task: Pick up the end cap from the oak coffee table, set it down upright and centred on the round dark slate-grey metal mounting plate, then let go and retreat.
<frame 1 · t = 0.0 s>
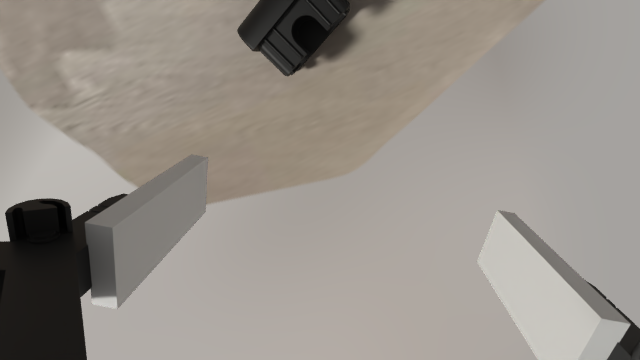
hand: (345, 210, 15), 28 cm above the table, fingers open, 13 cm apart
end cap: (299, 21, 39), on the table
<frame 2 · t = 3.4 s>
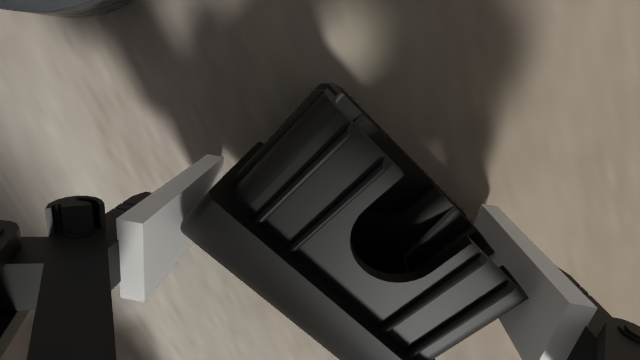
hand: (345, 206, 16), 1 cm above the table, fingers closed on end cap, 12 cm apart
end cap: (348, 200, 16), on the table, touching gripper
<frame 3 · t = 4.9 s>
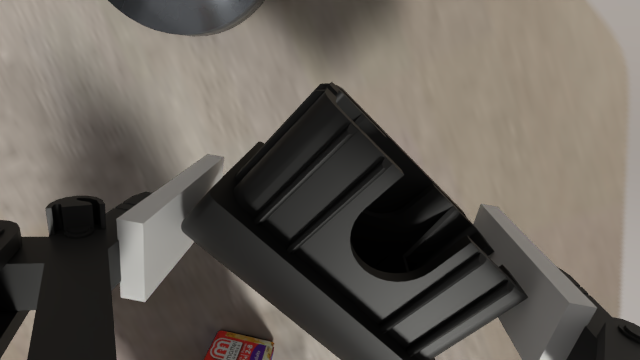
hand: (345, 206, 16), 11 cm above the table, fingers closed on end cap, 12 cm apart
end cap: (348, 200, 17), point 11 cm above the table, touching gripper
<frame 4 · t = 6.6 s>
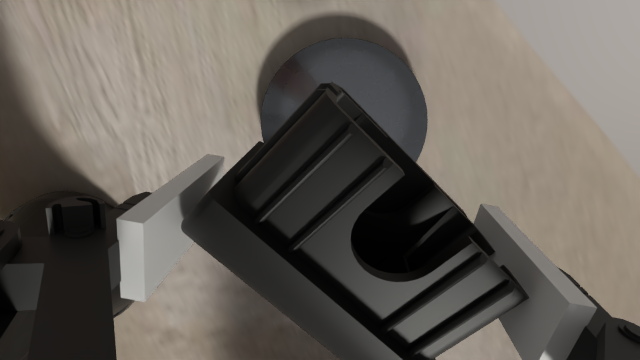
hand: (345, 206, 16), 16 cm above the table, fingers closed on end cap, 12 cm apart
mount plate: (342, 123, 31), on the table
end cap: (348, 200, 16), point 15 cm above the table, touching gripper
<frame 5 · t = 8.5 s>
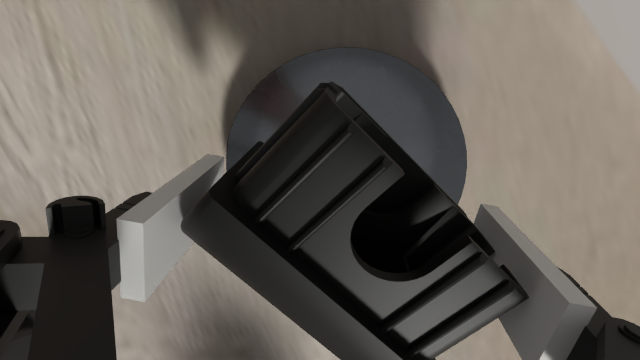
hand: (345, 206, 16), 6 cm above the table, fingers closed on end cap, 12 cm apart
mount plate: (343, 164, 22), on the table
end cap: (348, 199, 16), point 6 cm above the table, touching gripper
when the fingers open (4 cm above the table, at t = 10.1 s): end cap drops 1 cm, resting on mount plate.
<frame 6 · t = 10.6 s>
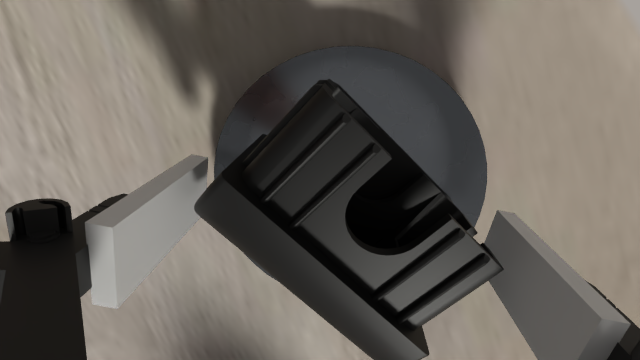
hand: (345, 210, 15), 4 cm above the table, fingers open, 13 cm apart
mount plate: (346, 177, 20), on the table
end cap: (345, 188, 18), point 2 cm above the table, touching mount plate
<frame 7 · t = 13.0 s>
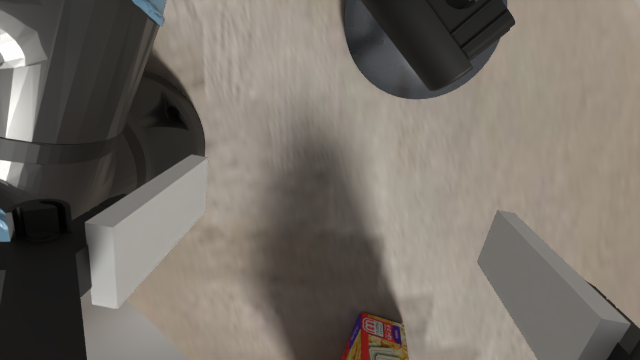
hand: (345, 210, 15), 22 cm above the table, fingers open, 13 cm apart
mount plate: (419, 21, 32), on the table
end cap: (422, 18, 30), point 2 cm above the table, touching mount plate
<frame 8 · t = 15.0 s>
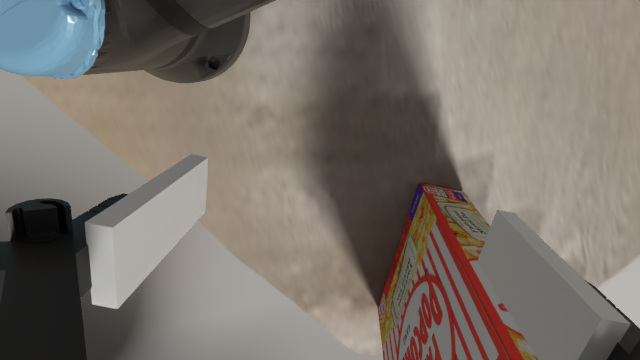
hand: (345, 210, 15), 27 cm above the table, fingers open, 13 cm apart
popcorn box: (417, 253, 46), on the table
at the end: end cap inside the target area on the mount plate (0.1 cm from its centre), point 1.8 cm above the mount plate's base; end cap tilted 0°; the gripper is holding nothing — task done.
